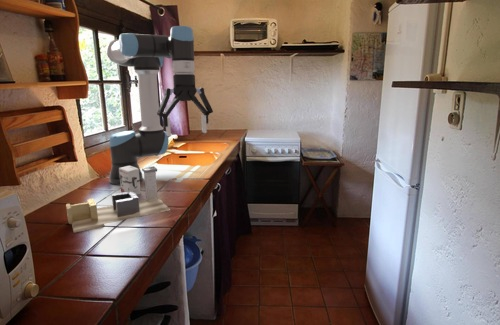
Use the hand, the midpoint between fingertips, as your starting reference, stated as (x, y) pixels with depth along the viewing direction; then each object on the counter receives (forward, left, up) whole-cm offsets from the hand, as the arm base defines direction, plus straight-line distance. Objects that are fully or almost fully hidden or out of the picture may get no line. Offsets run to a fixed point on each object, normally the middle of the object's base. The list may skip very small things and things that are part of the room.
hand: (187, 134), depth 124 cm
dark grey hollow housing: (-6, -22, -27) cm, 36 cm away
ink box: (-26, -16, -28) cm, 42 cm away
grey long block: (-12, -11, -27) cm, 32 cm away
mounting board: (-6, -23, -28) cm, 37 cm away
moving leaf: (-6, -37, -27) cm, 46 cm away
